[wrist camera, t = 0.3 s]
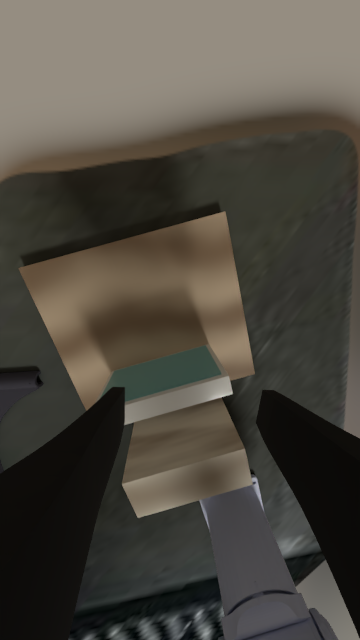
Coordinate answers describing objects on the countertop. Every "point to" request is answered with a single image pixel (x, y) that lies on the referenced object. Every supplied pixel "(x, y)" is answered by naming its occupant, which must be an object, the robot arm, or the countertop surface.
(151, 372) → the tile
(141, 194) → the countertop surface
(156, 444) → the tan mottled block
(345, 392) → the countertop surface
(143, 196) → the countertop surface
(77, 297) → the cork mat
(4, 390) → the bracket
